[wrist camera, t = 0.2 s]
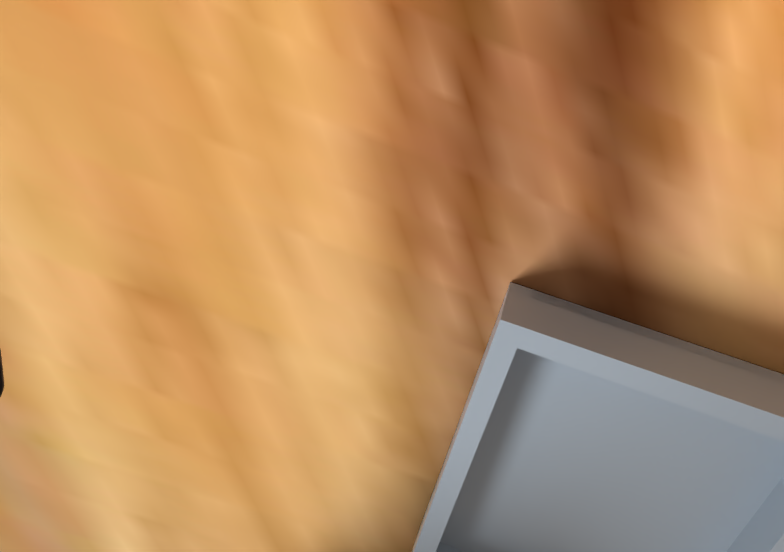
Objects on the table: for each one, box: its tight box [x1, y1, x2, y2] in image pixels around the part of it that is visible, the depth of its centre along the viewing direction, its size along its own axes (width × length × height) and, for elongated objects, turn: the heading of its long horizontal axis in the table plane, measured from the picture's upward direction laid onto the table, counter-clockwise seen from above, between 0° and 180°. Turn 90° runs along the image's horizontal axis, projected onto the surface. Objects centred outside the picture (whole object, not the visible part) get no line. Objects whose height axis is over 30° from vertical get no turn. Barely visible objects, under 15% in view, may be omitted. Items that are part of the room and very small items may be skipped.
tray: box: [412, 282, 784, 552], centre depth 25 cm, size 14×12×2 cm
